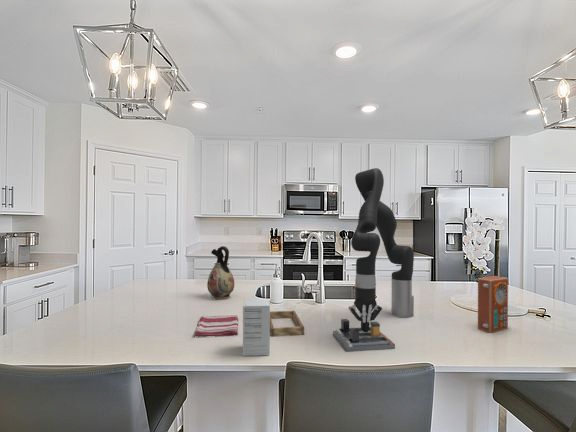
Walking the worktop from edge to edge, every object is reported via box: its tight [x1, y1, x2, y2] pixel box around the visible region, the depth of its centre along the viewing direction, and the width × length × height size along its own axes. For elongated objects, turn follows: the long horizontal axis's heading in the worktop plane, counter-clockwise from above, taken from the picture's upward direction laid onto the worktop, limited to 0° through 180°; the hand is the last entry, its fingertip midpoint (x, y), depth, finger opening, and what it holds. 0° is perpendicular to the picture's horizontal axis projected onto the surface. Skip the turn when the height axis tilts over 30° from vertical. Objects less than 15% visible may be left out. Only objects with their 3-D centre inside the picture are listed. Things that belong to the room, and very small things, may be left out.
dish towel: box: [193, 314, 239, 337], centre depth 138 cm, size 17×23×3 cm
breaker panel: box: [332, 318, 396, 352], centre depth 123 cm, size 18×16×6 cm
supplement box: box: [242, 298, 271, 357], centre depth 114 cm, size 10×9×17 cm
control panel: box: [477, 275, 509, 334], centre depth 137 cm, size 21×7×15 cm
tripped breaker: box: [370, 321, 381, 336], centre depth 123 cm, size 2×3×5 cm
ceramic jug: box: [206, 245, 235, 300], centre depth 187 cm, size 17×15×30 cm
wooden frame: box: [270, 310, 305, 337], centre depth 139 cm, size 13×23×3 cm, turn 8°
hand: (365, 331), depth 123 cm, fingers closed
